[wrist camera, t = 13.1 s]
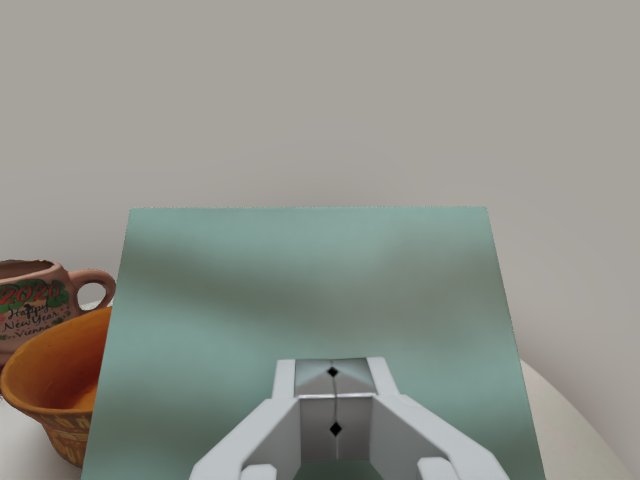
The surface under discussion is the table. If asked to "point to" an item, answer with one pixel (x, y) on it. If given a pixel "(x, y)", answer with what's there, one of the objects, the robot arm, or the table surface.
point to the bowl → (60, 380)
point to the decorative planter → (41, 299)
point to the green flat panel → (302, 328)
